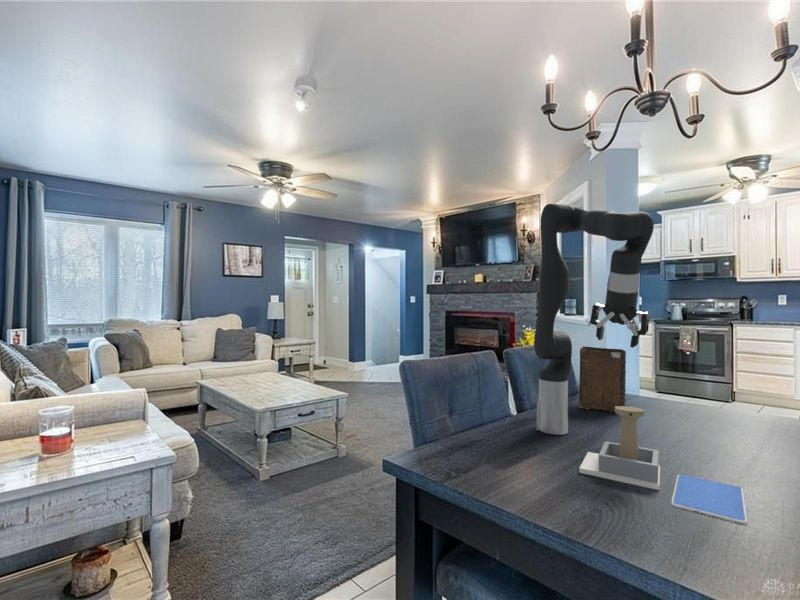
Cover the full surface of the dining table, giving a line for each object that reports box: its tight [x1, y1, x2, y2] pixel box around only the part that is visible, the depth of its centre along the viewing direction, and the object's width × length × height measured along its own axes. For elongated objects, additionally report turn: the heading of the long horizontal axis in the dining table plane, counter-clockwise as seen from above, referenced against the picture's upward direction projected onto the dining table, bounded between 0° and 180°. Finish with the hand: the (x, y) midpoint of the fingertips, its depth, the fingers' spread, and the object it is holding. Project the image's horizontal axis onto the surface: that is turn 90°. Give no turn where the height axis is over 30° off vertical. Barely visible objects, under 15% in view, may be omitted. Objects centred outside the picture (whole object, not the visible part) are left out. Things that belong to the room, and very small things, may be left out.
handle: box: [614, 405, 645, 461], centre depth 103 cm, size 5×6×15 cm
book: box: [578, 346, 627, 413], centre depth 165 cm, size 17×7×25 cm, turn 54°
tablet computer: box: [670, 474, 749, 525], centre depth 90 cm, size 19×13×1 cm, turn 142°
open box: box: [578, 440, 661, 491], centre depth 104 cm, size 17×14×5 cm
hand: (616, 342), depth 115 cm, fingers open, 8 cm apart
